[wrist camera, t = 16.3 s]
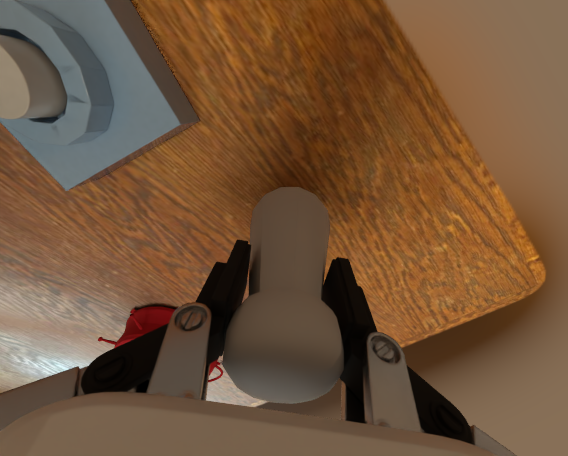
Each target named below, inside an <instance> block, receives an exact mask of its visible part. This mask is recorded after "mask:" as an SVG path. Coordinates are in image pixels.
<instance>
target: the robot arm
mask: <svg viewBox="0 0 568 456" xmlns="http://www.w3.org/2000/svg"><path fill="white" fill-rule="evenodd" d="M250 253H251V245H250V244H248V241H243V240H237V241H236V243H235V245H234V248H233V250H232V252H231V255H230V257H229V259H228V261H227V263H222V262H216V263H215V265H214V267H213V269H212V271H211V273H210V275H209V277H208V279H207V281H206V283H205V284H204V286H203V288H202V290H201V292H200V294H199V296H198V298H197V300H196V302H192V303H187V304H184V305H182V306H180V307H179V308H177V309H176V310H175V311H174V312H173V314H172V316H171V318H170V321H169V323H167V324H165V325H163V326H161V327H159V328H157V329H155V330H152V331H150V332H148V333H146V334H144V335H142V336H140V337H137V338H135V339H133V340H131V341H129V342H127V343H125V344H122V345H120V346H118V347H116V348H114V349H112V350H110V351H107V352H106V353H104V354H102V355H100V356H99V357H97V358H96V359H95V360H94V361H93V362H92V363H91V364H90V365H89V366H87V367H84V368H81V369H79V367H75V368H72V369H69V370H66V371H63V372H60V373H58V374H55V375H52V376H49V377H46V378H43V379H40V380H38V381H35V382H32V383H29V384H26V385H23V386H20V387H17V388H15V389H12V390H9V391H6V392H3V393H0V456H517V455H515V454H514V453H513V452H511V451H510V450H508V449H507V448H506V447H504V446H503V445H501V444H500V443H498V442H497V441H496V440H494V439H493V438H491V437H490V436H489V435H487V434H486V433H484V432H483V431H481V430H480V429H479V428H477V427H476V426H475V425H473V426H471V427H470V426H469V425H468V423H467V421H466V419H465V418H464V416H463V415H462V414H461V413H460V411H459V410H458V409H457V408H456V407H455V406H454V405H453V404H452V403H451V402H449V401H448V400H447V399H446V398H445V397H444V396H442V395H441V394H440V393H439V392H438V391H436V390H435V389H434V388H433V387H432V386H430V385H429V384H428V383H427V382H426V381H425V380H424V379H422V378H421V377H420V376H419V375H418V374H416V373H415V372H414V371H413V370H412V369H411V368H409V367H408V366H407V365H406V361H405V357H404V353H403V351H402V349H401V347H400V346H399V344H398V343H397V342H396V341H395V340H394V339H393V338H391V337H390V336H388V335H386V334H384V333H381V332H377V329H376V326H375V323H374V320H373V318H372V315H371V312H370V309H369V306H368V304H367V301H366V298H365V295H364V292H363V290H362V288H361V287H360V286H357V283H356V280H355V277H354V274H353V271H352V268H351V265H350V262H349V259H345V258H339V257H337V258H336V260H335V259H333V260H332V263H331V265H330V268H329V271H328V274H327V276H326V279H325V282H324V285H323V290H322V298H321V300H322V301H323V302H324V303H325V304H326V305H327V306H328V307H329V308H330V309H331V310H332V311H333V312H334V314H335V316H336V317H337V321H338V325H339V329H340V333H341V338H342V343H343V349H344V370H343V372H342V374H341V375H340V377H339V378H340V379H341V380H342V395H341V420H337V419H330V418H324V417H317V416H309V415H302V414H296V413H289V412H282V411H275V410H268V409H261V408H254V407H247V406H240V405H233V404H226V403H219V402H211V401H206V395H207V387H208V379H209V371H210V364H211V363H213V362H214V361H216V360H217V359H218V358H219V356H222V355H223V351H224V346H225V338H226V331H227V328H228V325H229V322H230V320H231V318H232V315H233V313H234V312H235V311H236V309H237V308H238V307H239V306H240V305H241V303H242V300H243V296H244V293H245V289H246V284H247V277H248V269H249V261H250Z"/></svg>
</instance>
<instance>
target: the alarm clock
mask: <svg viewBox="0 0 568 456" xmlns="http://www.w3.org/2000/svg"><path fill="white" fill-rule="evenodd" d="M174 311H175V310H174V309H171V308H166V307H146V308H142V309H139V310H137V311H136V310H135V308H134V309H132V310H131V313H132V314H131V315H130V317H129V319H128V320H127V323H126V329H125V332H124V334H123V335H122V336H121V338H120V339H119V340H118V341H117V342H115V341H111V340H106V339H103V338H102V337H99V339H98V341H105V342H108V343H111V344H114V345H115V348H116V347H118V346H120V345H122V344H125V343H127V342H129V341H131V340H133V339H135V338H137V337H140V336H142V335H144V334H146V333H148V332H150V331H152V330H155V329H157V328H159V327H161V326H163V325H165V324H167V323H169V321H170V318H171V316H172V314H173V312H174ZM217 361H218V359H217V360H216V361H214V362H213V363H211V364H210V371H209V375H210V374H211V372H212V371H213V369H214V367H216V368H217V369H219V370H220V372H221V374H220V376H218V377H216V378H214V379H211V380H208V382H211V381H215V380H217V379H219V378H220V377H221V376H222V375H223V371H222V369H221V368H220V367H219V366H217V365H220V363H219V362H217ZM216 364H217V365H216Z"/></svg>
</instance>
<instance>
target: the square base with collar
mask: <svg viewBox="0 0 568 456" xmlns="http://www.w3.org/2000/svg"><path fill="white" fill-rule="evenodd" d="M0 34H3V35H7V36H12V37H16V38H20V39H23V40H25V41H27V42H30V43H31V44H33V45H35V46H36V47H37V48H39V49H40V50H41V51H42V52H44V53H45V54H46V55H47V56H48V57H49V59H50V60H51V61H52V63H53V64H54V65H55V66H56V68H57V69H58V70H59V72H60V75H61V78H62V81H63V84H64V87H65V90H66V93H67V104H66V107H65V109H64V111H63V112H62V113H61V114H60V115H58V116H56V117H50V118H31V119H4V118H0V122H1V123H2V124H3V126H4V127H5V128H6V129H7V130H8V131H9V132H10V133H11V134H12V135H13V136H14V137H15V138H16V139H17V140H18V141H19V142H20V143H21V144H22V145H23V146H24V147H25V148H26V149H27V150H28V151H29V152H30V154H31V155H32V156H33V157H34V158H35V159H36V160H37V161H38V162H39V163H40V164H41V165H42V166H43V167H44V168H45V169H46V170H47V171H48V172H49V173H50V174H51V175H52V176H53V177H54V178H55V179H56V181H57V182H58V183H59V184H60V185H61V186H62V187H63V188H64V189H65V190H66V191H68V190H70V189H73V188H76V187H78V186H81V185H84V184H86V183H89V182H92V181H94V180H97V179H100V178H101V177H103V176H105V175H107V174H108V173H110V172H112V171H114V170H115V169H117V168H119V167H121V166H122V165H124V164H126V163H128V162H129V161H131V160H133V159H135V158H136V157H138V156H140V155H142V154H143V153H145V152H147V151H149V150H150V149H152V148H154V147H156V146H157V145H159V144H161V143H163V142H164V141H166V140H168V139H170V138H171V137H173V136H175V135H177V134H178V133H180V132H182V131H184V130H185V129H187V128H189V127H191V126H192V125H194V124H196V123H198V122H199V121H200V120H199V118H198V117H197V115H196V113H195V112H194V110H193V108H192V106H191V105H190V103H189V101H188V99H187V98H186V96H185V94H184V93H183V91H182V89H181V87H180V86H179V84H178V82H177V80H176V79H175V77H174V75H173V73H172V72H171V70H170V68H169V67H168V65H167V63H166V61H165V60H164V58H163V56H162V54H161V53H160V51H159V49H158V47H157V46H156V44H155V42H154V41H153V39H152V37H151V35H150V34H149V32H148V30H147V28H146V27H145V25H144V23H143V22H142V20H141V18H140V16H139V15H138V13H137V11H136V9H135V8H134V6H133V4H132V2H131V1H130V0H0Z"/></svg>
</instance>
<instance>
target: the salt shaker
mask: <svg viewBox="0 0 568 456" xmlns="http://www.w3.org/2000/svg"><path fill="white" fill-rule="evenodd" d="M329 231H330V222H329V216H328V210H327V209H326V207H325V206H324V205H323V203H322V202H321V201H320V200H319V199H318V197H317V196H316V195H315V194H313V193H311V192H309V191H307V190H304V189H302V188H300V187H280V188H278V189H276V190H274V191H272V192H269V193H267V194H265V195H264V196H263V197H262V199H261V200H260V201H259V203H258V204H257V205H256V207H255V208H254V210H253V213H252V220H251V226H250V245H251V253H250V265H249V297H248V298H247V299H246V300H245V301H244V302H243V303H242V304H241V305H240V306H239V307H238V308H237V309H236V311H235V312H234V313H233V315H232V318H231V320H230V322H229V325H228V328H227V331H226V338H225V346H224V355H223V363H222V365H223V367H224V368H225V370H226V372H227V373H228V375H229V376H230V378H231V379H232V381H233V382H234V383H235V385H236V386H237V388H239V389H240V390H242V391H243V392H245V393H247V394H248V395H250V396H252V397H254V398H258V399H261V400H265V401H269V402H273V403H292V404H295V403H300V402H305V401H310V400H314V399H316V398H318V397H320V396H322V395H324V394H326V393H328V392H329V391H330V390H331V388H332V387H333V386H334V385H335V384H336V382H337V380H338V379H339V377H340V375H341V374H342V372H343V370H344V349H343V343H342V338H341V333H340V329H339V325H338V321H337V317H336V316H335V314H334V312H333V311H332V310H331V309H330V308H329V307H328V306H327V305H326V304H325V303H324V302H323V301H322V300H321V298H322V290H323V282H324V273H325V265H326V256H327V248H328V240H329Z"/></svg>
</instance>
